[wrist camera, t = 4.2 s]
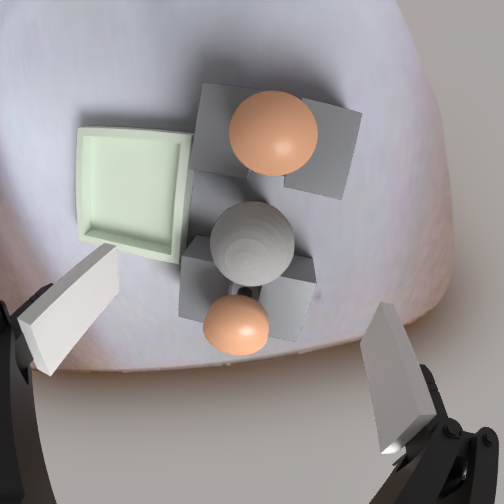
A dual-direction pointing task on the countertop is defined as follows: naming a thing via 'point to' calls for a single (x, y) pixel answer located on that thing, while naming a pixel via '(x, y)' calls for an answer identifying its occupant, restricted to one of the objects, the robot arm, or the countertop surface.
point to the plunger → (237, 323)
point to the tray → (134, 189)
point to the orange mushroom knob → (273, 133)
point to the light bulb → (252, 243)
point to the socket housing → (305, 179)
